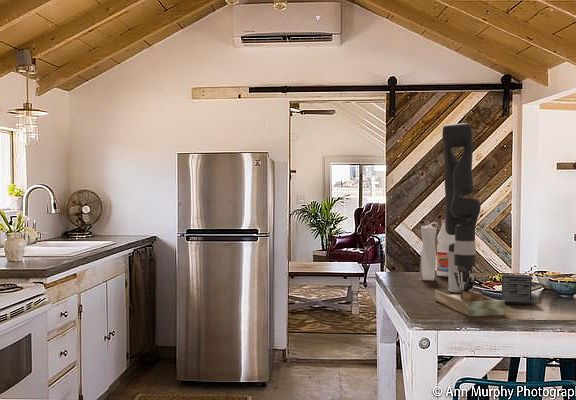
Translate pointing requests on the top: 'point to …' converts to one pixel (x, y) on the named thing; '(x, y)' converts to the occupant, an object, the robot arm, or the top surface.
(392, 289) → the top surface
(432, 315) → the top surface
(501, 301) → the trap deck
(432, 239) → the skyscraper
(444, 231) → the fruit juice
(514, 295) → the small box
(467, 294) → the walnut block
